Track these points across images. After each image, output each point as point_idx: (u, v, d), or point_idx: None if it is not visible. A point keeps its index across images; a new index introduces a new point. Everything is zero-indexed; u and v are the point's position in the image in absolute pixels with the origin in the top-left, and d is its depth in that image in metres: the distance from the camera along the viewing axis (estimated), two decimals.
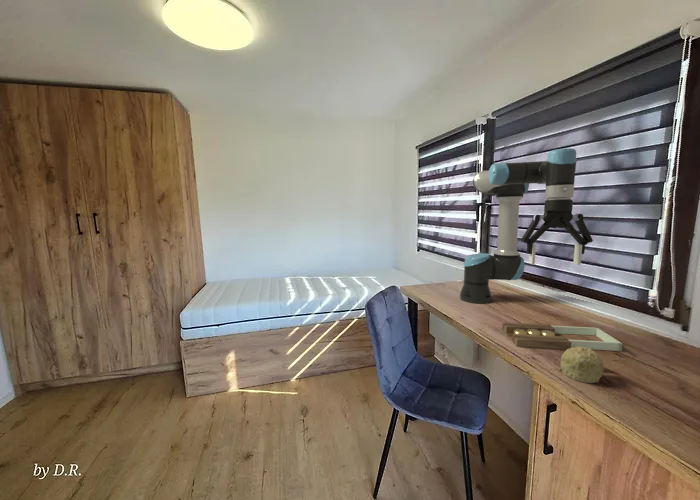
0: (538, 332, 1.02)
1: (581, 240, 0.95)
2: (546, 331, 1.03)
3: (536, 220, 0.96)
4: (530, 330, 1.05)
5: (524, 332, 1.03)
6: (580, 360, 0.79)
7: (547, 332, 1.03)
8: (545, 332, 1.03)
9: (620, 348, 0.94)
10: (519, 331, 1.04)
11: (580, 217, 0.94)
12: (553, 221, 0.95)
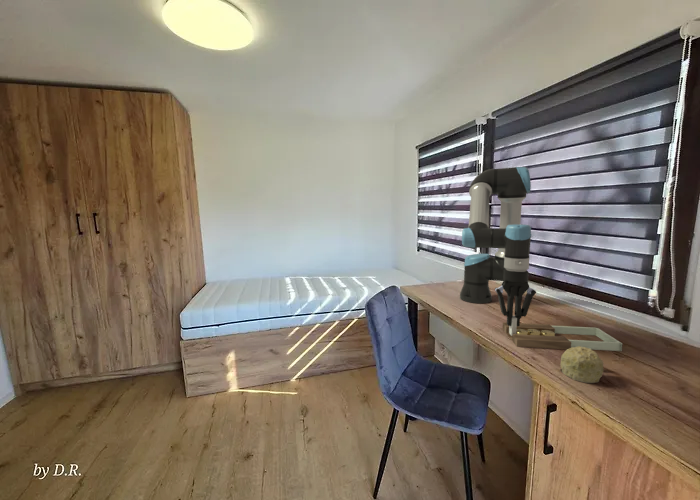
0: (538, 332, 1.02)
1: (518, 313, 1.03)
2: (546, 331, 1.03)
3: (499, 294, 1.03)
4: (530, 330, 1.05)
5: (525, 332, 1.03)
6: (580, 360, 0.79)
7: (547, 332, 1.03)
8: (545, 332, 1.03)
9: (620, 348, 0.94)
10: (520, 331, 1.04)
11: (532, 293, 1.01)
12: (512, 291, 1.01)
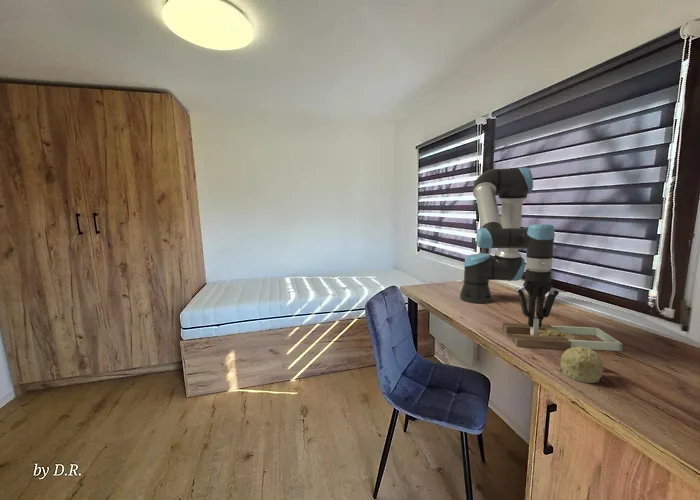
0: (558, 332, 1.02)
1: (540, 314, 1.01)
2: (566, 333, 1.02)
3: (521, 295, 1.02)
4: (549, 330, 1.04)
5: (547, 333, 1.02)
6: (580, 360, 0.79)
7: (567, 334, 1.01)
8: (564, 334, 1.01)
9: (620, 348, 0.94)
10: (541, 332, 1.03)
11: (555, 293, 0.99)
12: (534, 291, 1.00)
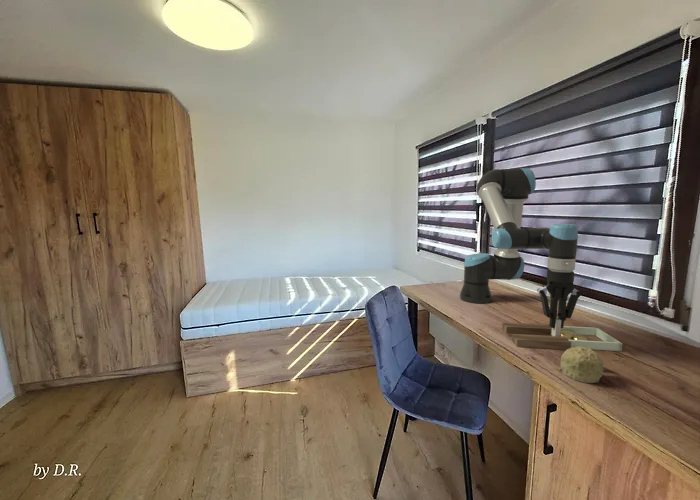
0: (573, 332, 1.04)
1: (562, 315, 1.00)
2: (579, 336, 1.00)
3: (543, 295, 1.00)
4: None
5: (570, 334, 1.01)
6: (580, 360, 0.79)
7: (579, 336, 1.00)
8: (575, 336, 1.00)
9: (620, 348, 0.94)
10: (564, 333, 1.01)
11: (578, 294, 0.98)
12: (557, 292, 0.99)
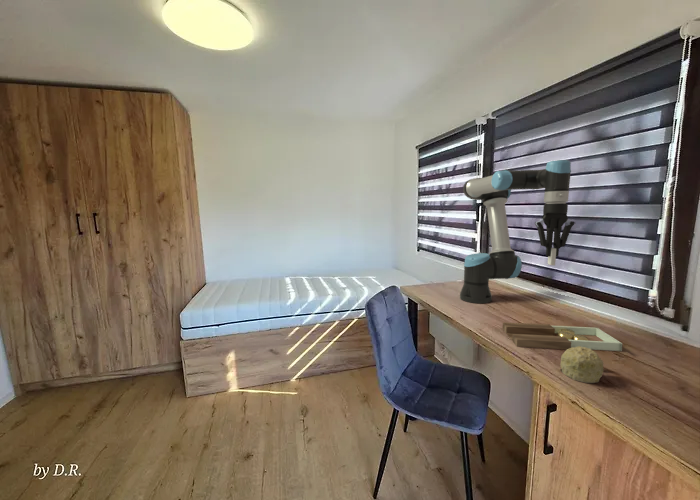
0: (573, 332, 1.04)
1: (557, 244, 1.12)
2: (579, 336, 1.00)
3: (540, 226, 1.12)
4: (564, 331, 1.04)
5: (570, 335, 1.01)
6: (580, 360, 0.79)
7: (579, 336, 1.00)
8: (576, 336, 1.00)
9: (620, 348, 0.94)
10: (565, 334, 1.01)
11: (571, 224, 1.10)
12: (552, 222, 1.11)
